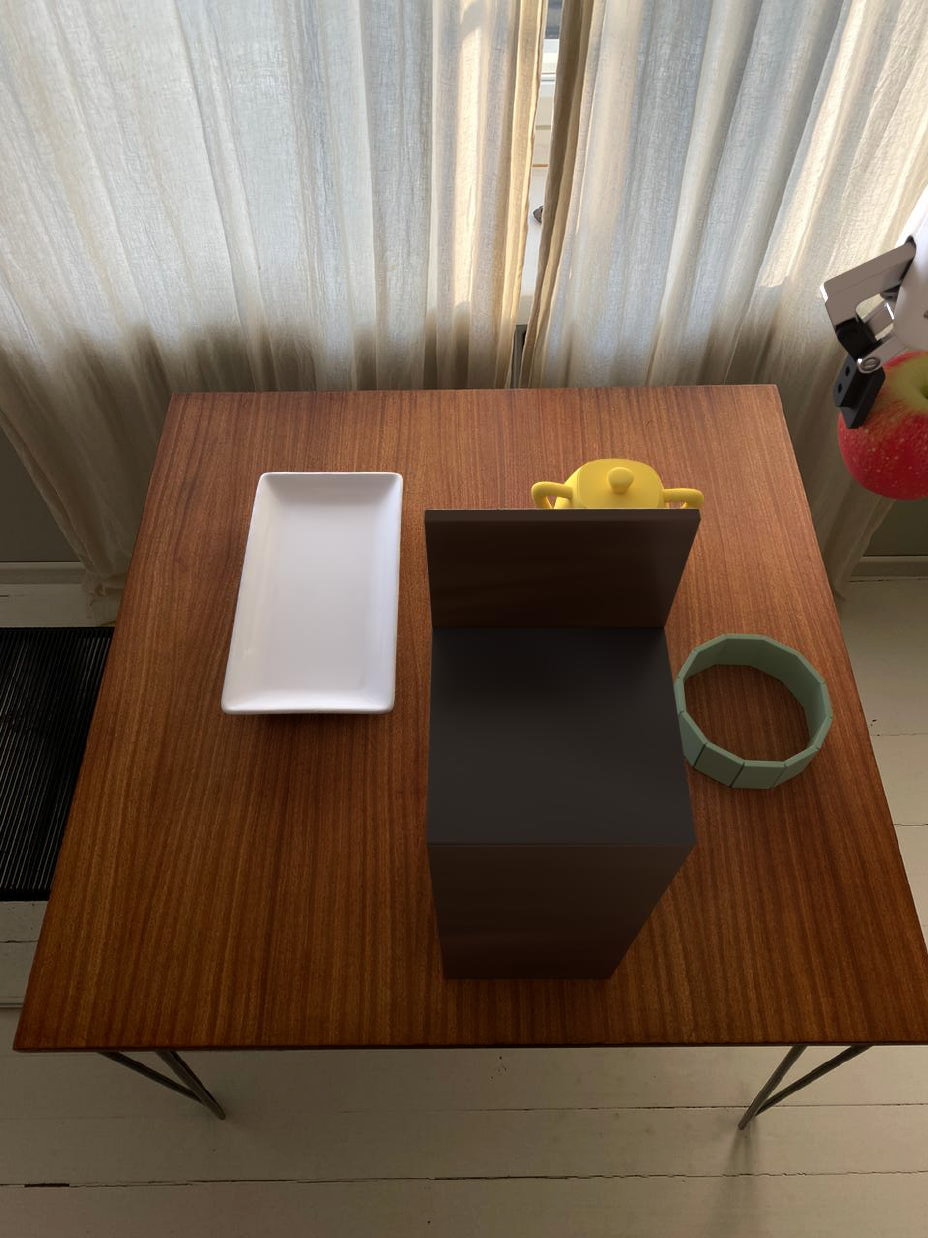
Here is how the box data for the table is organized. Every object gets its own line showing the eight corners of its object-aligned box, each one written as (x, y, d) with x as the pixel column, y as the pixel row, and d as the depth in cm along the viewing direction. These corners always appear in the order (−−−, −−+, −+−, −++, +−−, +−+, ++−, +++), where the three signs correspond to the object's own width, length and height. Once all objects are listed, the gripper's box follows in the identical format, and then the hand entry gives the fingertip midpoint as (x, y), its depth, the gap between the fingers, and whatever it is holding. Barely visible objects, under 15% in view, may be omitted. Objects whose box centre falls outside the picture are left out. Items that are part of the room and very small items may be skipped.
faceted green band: (844, 749, 85) (863, 726, 81) (725, 813, 81) (739, 793, 77) (753, 639, 92) (767, 613, 88) (640, 694, 88) (648, 669, 84)
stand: (610, 979, 73) (748, 761, 37) (443, 979, 73) (415, 762, 37) (596, 819, 81) (699, 507, 44) (446, 819, 81) (424, 508, 44)
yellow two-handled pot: (515, 549, 99) (520, 477, 89) (601, 484, 104) (614, 409, 94) (607, 624, 93) (623, 556, 83) (693, 551, 98) (717, 479, 88)
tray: (406, 489, 104) (404, 468, 101) (396, 727, 86) (393, 711, 83) (264, 490, 104) (258, 470, 101) (226, 729, 86) (217, 713, 84)
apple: (843, 531, 53) (912, 404, 44) (802, 432, 57) (857, 301, 49) (976, 523, 53) (1070, 396, 45) (925, 425, 58) (1000, 293, 49)
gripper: (917, 141, 34) (785, 459, 49) (1366, 139, 34) (1099, 458, 48) (868, 52, 38) (760, 369, 53) (1268, 49, 38) (1049, 368, 53)
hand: (923, 411), depth 51 cm, fingers closed on apple, 8 cm apart
